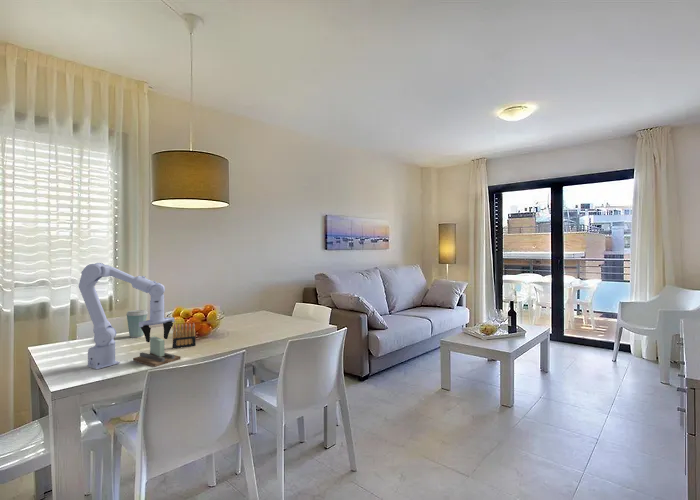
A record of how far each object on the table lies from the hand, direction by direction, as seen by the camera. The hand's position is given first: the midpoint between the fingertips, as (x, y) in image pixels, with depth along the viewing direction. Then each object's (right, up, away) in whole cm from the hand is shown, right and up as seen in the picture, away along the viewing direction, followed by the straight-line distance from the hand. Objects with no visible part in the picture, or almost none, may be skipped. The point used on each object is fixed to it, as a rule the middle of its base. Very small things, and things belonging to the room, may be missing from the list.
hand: (157, 340), depth 163 cm
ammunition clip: (+2, -9, +22) cm, 23 cm away
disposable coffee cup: (-33, -8, +41) cm, 53 cm away
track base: (0, -9, 0) cm, 9 cm away
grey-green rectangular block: (0, -6, 0) cm, 6 cm away
